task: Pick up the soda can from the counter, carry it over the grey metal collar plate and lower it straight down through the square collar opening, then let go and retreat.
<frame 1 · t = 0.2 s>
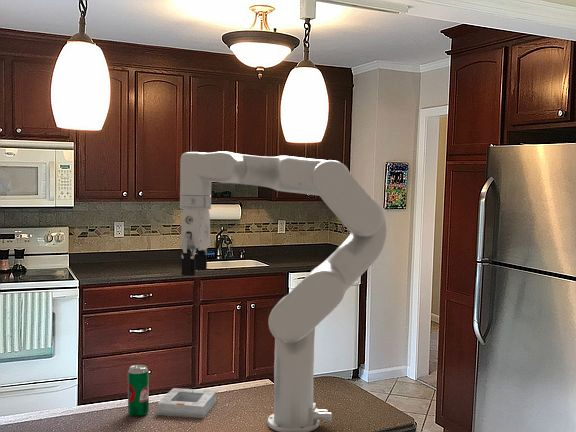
hand: (194, 272, 154), 36 cm above the counter, tool pointing down, fingers open, 9 cm apart
collar plate: (187, 408, 162), on the counter
soda can: (138, 414, 158), on the counter
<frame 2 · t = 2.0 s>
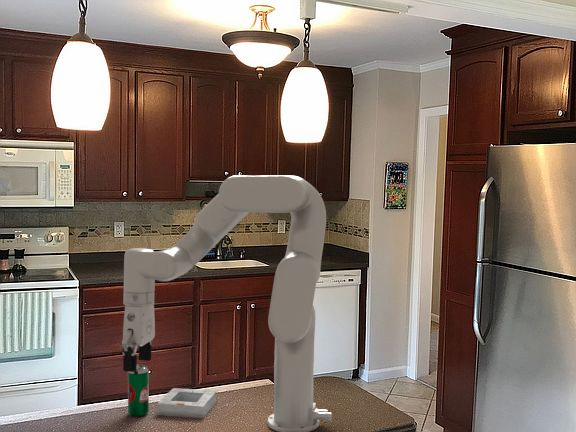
hand: (137, 365, 157), 12 cm above the counter, tool pointing down, fingers open, 9 cm apart
nothing on the counter moved.
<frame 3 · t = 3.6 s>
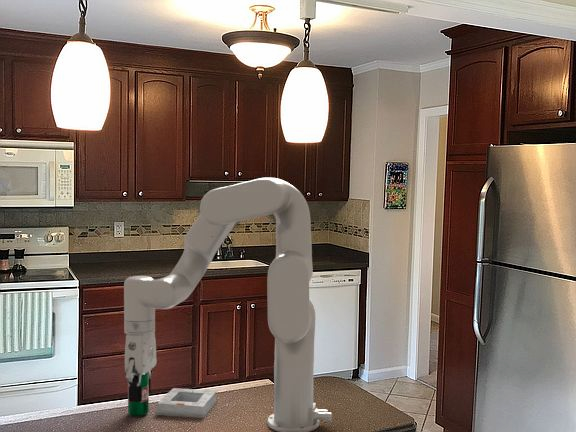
hand: (140, 396, 157), 4 cm above the counter, tool pointing down, fingers closed on soda can, 5 cm apart
soda can: (138, 414, 158), on the counter, touching gripper
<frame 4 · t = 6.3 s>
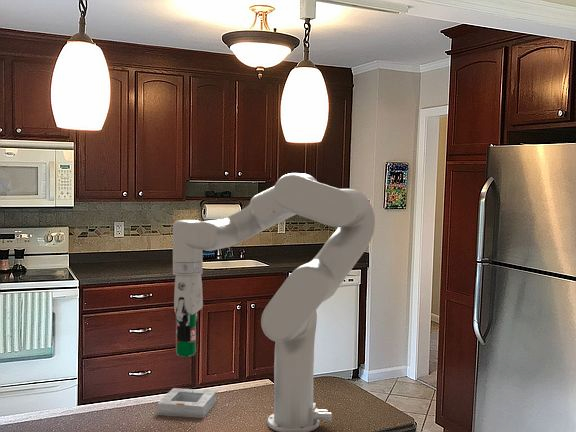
hand: (187, 337, 161), 18 cm above the counter, tool pointing down, fingers closed on soda can, 5 cm apart
soda can: (186, 355, 161), point 14 cm above the counter, touching gripper
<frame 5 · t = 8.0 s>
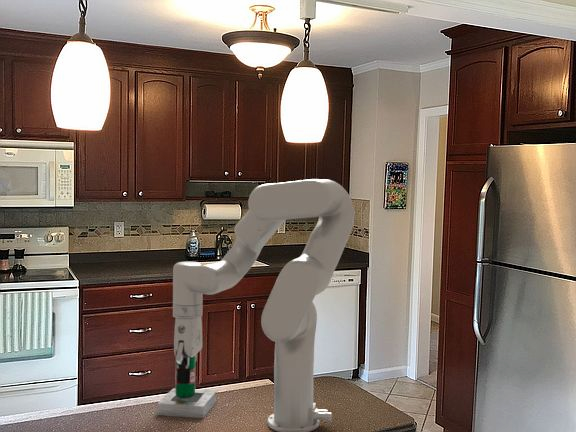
hand: (187, 379, 161), 8 cm above the counter, tool pointing down, fingers closed on soda can, 5 cm apart
soda can: (185, 396, 162), point 3 cm above the counter, touching gripper
when the fingers open (5 cm above the counter, at t = 9.3 s): soda can drops 1 cm, resting in collar plate.
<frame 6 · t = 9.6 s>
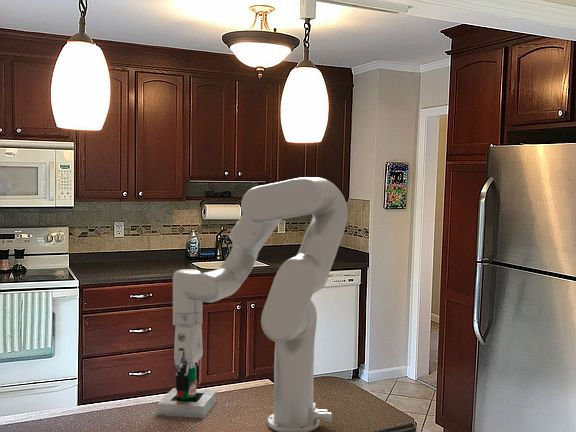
hand: (187, 385, 161), 6 cm above the counter, tool pointing down, fingers open, 7 cm apart
soda can: (186, 409, 162), resting in collar plate
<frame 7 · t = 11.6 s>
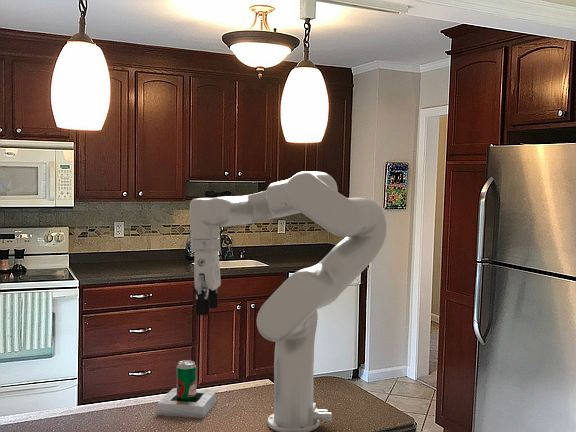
hand: (207, 311, 163), 25 cm above the counter, tool pointing down, fingers open, 9 cm apart
nothing on the counter moved.
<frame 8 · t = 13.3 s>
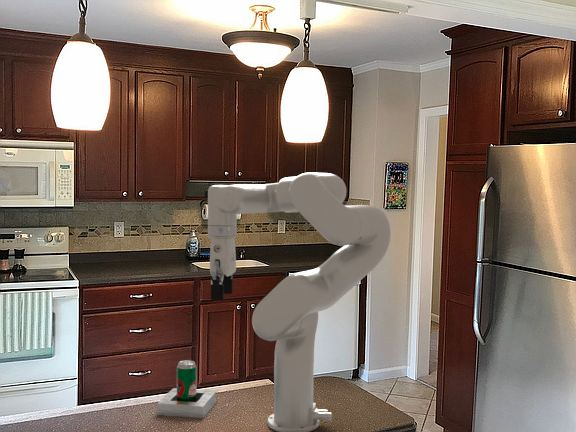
hand: (222, 296, 165), 28 cm above the counter, tool pointing down, fingers open, 9 cm apart
nothing on the counter moved.
at the end: soda can 0.3 cm off-centre on the collar plate, point 0.0 cm above the collar plate's base; soda can tilted 0°; the gripper is holding nothing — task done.
